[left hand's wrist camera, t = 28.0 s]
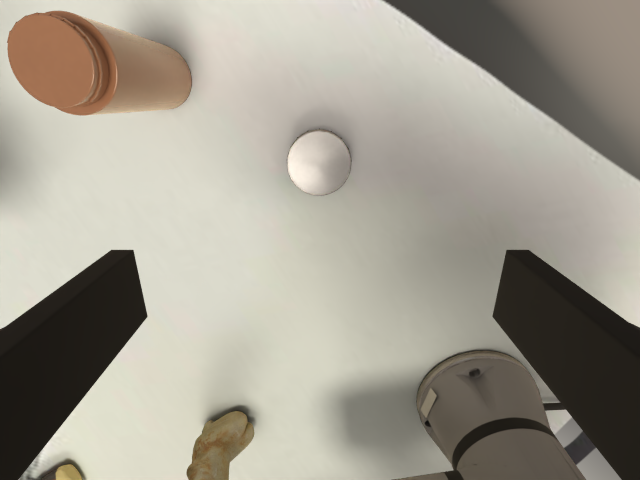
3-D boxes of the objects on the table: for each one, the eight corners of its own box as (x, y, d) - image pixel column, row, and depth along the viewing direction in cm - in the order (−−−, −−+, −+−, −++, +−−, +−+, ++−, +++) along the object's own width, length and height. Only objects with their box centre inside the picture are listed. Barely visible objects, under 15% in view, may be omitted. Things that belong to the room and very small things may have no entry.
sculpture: (261, 430, 50) (238, 559, 36) (215, 443, 51) (175, 574, 37) (243, 400, 48) (211, 525, 34) (195, 415, 49) (145, 542, 35)
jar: (201, 67, 33) (117, 45, 19) (177, 121, 35) (83, 135, 21) (145, 30, 32) (13, -21, 18) (122, 87, 34) (-14, 80, 20)
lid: (274, 158, 36) (272, 161, 34) (321, 114, 34) (321, 115, 33) (316, 203, 38) (316, 208, 36) (362, 163, 36) (364, 166, 35)
